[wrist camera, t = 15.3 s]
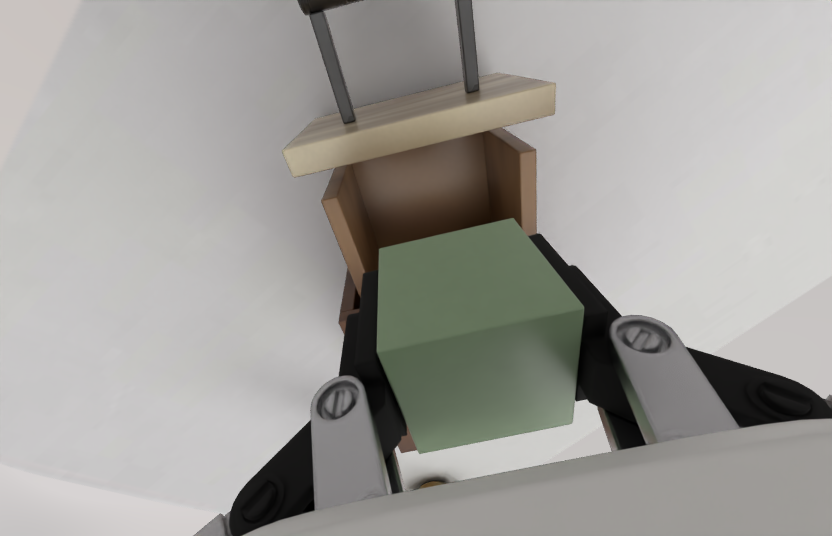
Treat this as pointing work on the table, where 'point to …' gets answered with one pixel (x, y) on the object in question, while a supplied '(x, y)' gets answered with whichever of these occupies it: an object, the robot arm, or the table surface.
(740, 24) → the table surface
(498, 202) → the drawer
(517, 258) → the block
